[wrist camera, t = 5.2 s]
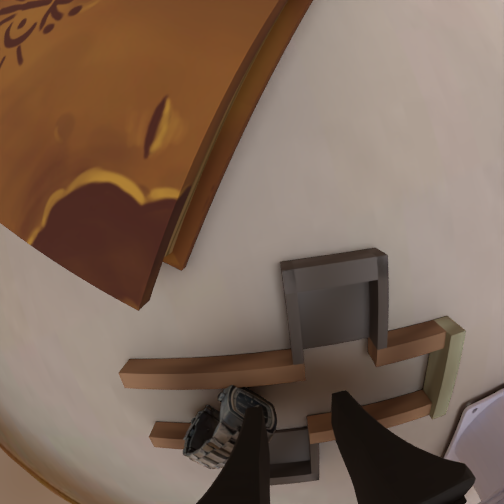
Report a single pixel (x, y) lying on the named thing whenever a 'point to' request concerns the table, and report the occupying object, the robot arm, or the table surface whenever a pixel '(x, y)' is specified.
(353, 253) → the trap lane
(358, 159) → the table surface
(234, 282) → the table surface
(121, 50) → the diary
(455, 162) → the table surface
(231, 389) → the wristwatch
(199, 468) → the table surface
